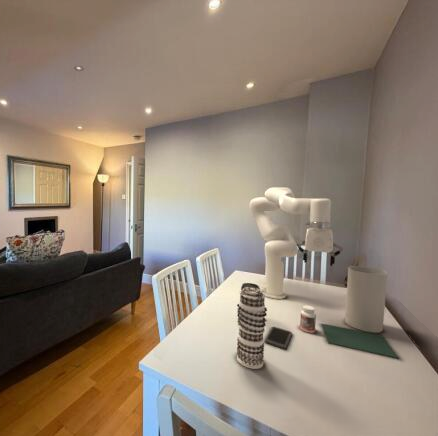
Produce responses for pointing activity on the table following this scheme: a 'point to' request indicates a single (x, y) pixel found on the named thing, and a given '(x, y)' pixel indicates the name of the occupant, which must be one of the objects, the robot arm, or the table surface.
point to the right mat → (358, 340)
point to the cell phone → (278, 337)
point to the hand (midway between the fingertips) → (318, 263)
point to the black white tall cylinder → (251, 327)
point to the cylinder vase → (365, 298)
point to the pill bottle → (308, 319)
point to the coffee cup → (249, 285)
